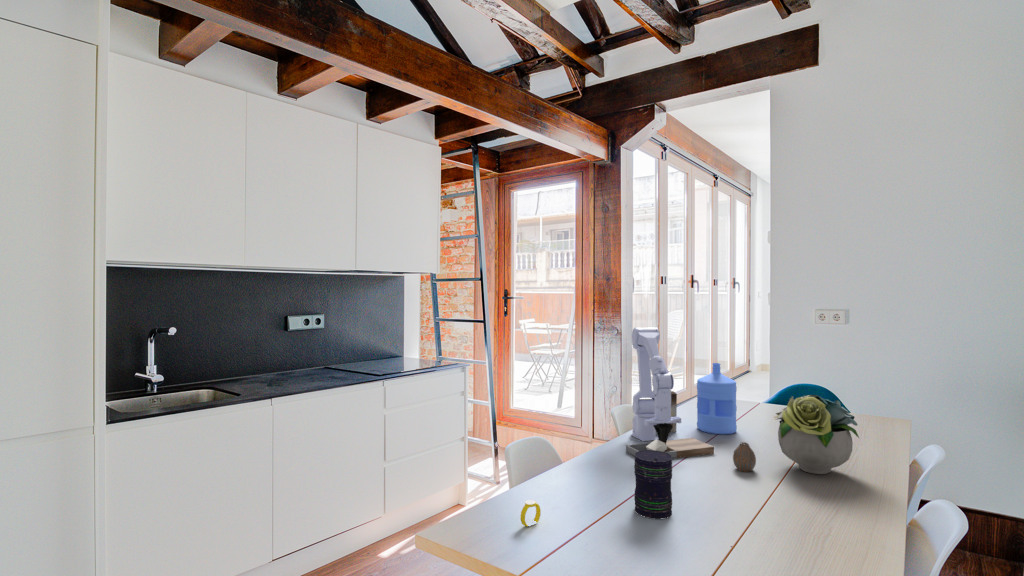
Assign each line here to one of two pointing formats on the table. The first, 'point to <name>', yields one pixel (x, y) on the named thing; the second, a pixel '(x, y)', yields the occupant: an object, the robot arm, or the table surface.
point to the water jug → (716, 403)
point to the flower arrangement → (816, 433)
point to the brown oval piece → (744, 457)
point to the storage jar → (653, 484)
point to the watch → (527, 504)
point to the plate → (689, 447)
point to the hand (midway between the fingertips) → (662, 444)
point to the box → (639, 447)
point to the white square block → (657, 446)
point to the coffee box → (673, 409)
